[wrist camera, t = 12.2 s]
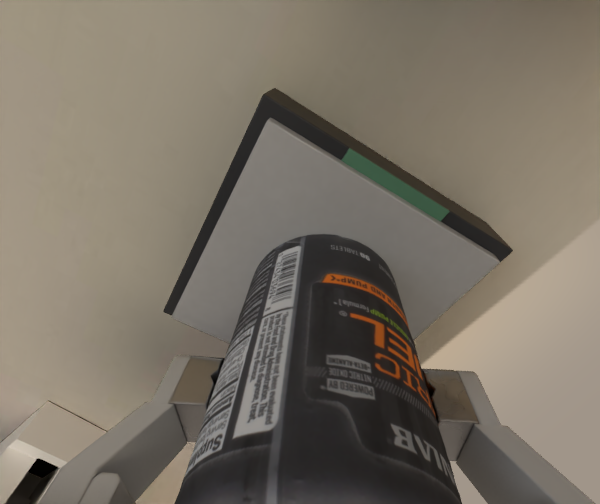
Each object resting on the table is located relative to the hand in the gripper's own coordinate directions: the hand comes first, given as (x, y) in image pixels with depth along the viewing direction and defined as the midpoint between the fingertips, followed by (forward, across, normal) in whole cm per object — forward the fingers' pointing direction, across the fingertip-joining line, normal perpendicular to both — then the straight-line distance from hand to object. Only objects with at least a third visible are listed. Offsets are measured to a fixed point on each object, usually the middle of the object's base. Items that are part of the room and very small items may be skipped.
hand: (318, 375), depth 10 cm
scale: (+7, 0, 0) cm, 7 cm away
